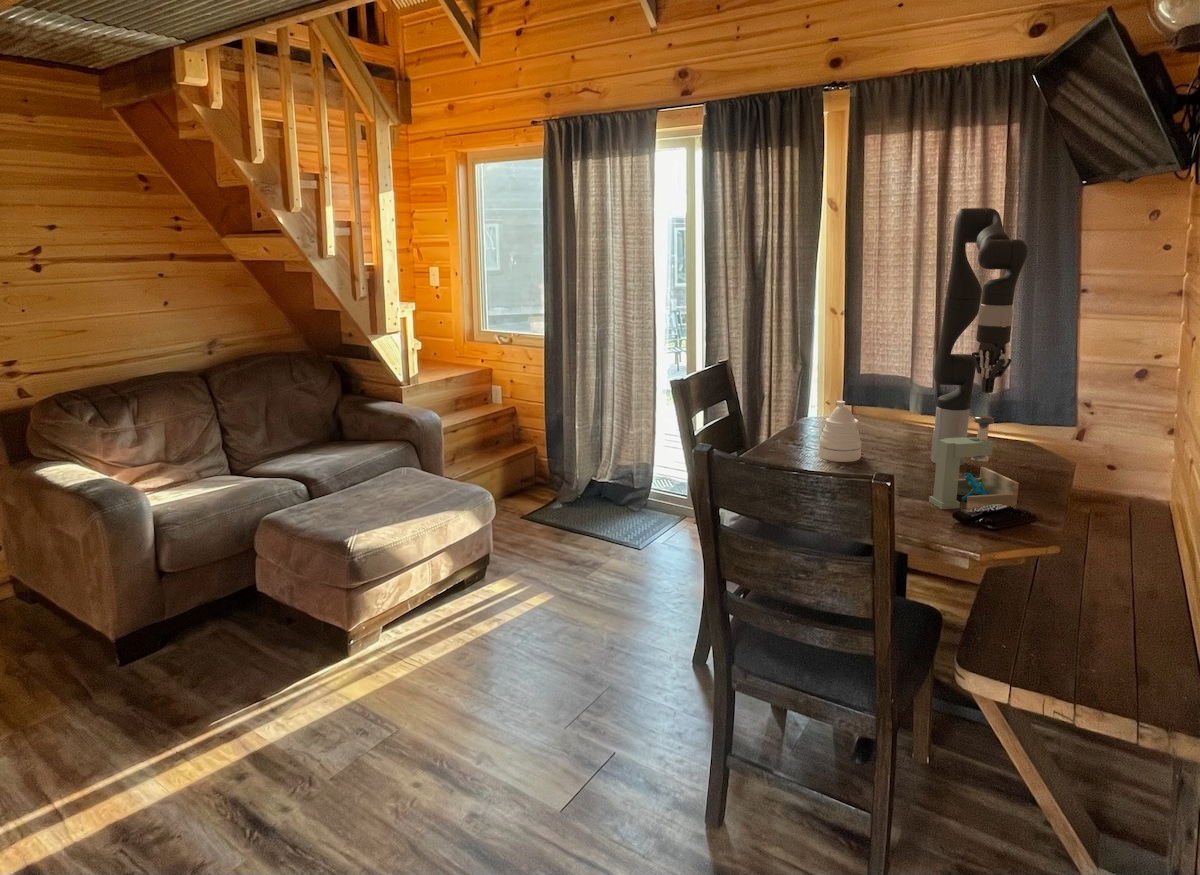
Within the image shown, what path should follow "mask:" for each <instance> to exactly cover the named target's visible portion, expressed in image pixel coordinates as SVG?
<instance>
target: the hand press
mask: <svg viewBox="0 0 1200 875" xmlns="http://www.w3.org/2000/svg"><path fill="white" fill-rule="evenodd" d="M993 446H994V441H992V440H987V441H979V442H977V436H976V437H975V436H973V437H967V438H965V437H960V438H944V439H942V440H939V441H938V451H937V461H936V463H935V475H934V482H933V483H934V485H933V493H932V494H933V495H930V496H928V503H930V504H932V505H933V504H934V505H933V506H935V507H936V508H939V509H940V510H949V509H960V508H961V502H960V501H958V500H957V498H958V496H957V488H958V479H960V478H959V477H960V459H961V457H965V458H971V457H977V456H983V455H986V456H992V455H993Z"/></svg>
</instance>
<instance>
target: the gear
mask: <svg viewBox="0 0 1200 875" xmlns="http://www.w3.org/2000/svg"><path fill="white" fill-rule="evenodd" d="M976 478H977V477H974V476H973V474H972V473H970V472H969V473H968V472H966V473H964V479H966V480H967V481H968V482H967V483H968V485H969V486H970V487H972V488H973V489H972V490H971V492H970V493H968V494H964V495H963V496H962V497H961V500H962V501H963V502H965V501H967V496H976V495H990V494H989V492H988V491H986V490H985V488H984V486H983V484H982V482H980V483H978V480H977V479H976Z"/></svg>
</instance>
